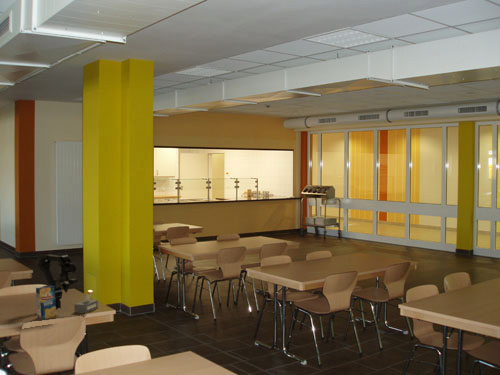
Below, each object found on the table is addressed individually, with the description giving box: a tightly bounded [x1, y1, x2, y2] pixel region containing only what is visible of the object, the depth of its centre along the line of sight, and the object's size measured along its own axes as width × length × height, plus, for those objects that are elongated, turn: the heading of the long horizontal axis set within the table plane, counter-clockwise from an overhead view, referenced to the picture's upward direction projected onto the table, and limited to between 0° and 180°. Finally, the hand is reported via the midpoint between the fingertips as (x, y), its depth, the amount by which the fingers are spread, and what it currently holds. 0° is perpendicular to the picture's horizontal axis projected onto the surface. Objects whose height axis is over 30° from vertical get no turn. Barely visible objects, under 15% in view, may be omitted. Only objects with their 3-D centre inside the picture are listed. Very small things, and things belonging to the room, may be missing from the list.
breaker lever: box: [83, 289, 94, 301], centre depth 393 cm, size 2×4×8 cm, turn 159°
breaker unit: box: [73, 299, 99, 314], centre depth 395 cm, size 10×14×6 cm
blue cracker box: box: [35, 284, 57, 320], centre depth 380 cm, size 7×11×22 cm, turn 134°
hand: (66, 292), depth 398 cm, fingers closed
